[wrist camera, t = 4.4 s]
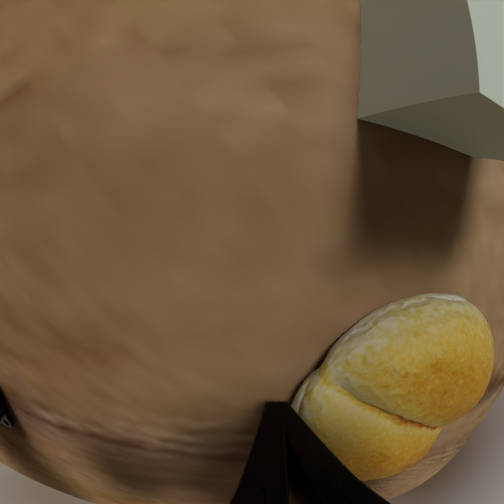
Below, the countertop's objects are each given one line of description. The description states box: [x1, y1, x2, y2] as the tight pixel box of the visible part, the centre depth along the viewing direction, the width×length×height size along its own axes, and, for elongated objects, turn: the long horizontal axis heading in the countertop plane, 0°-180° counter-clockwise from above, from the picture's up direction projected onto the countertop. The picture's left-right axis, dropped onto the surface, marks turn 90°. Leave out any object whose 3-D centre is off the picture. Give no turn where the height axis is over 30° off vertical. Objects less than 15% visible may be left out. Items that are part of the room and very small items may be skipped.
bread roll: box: [291, 293, 494, 481], centre depth 9 cm, size 8×9×4 cm
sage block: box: [357, 0, 504, 161], centre depth 5 cm, size 5×5×5 cm
